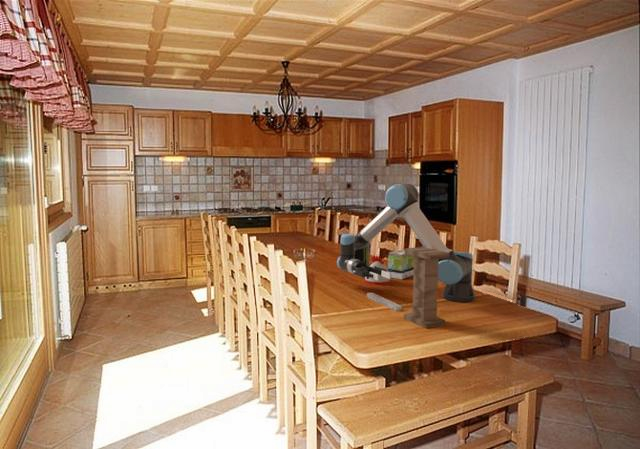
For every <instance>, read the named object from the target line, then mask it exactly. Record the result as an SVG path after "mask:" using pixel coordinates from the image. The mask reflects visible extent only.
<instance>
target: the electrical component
mask: <svg viewBox="0 0 640 449" xmlns="http://www.w3.org/2000/svg"><path fill="white" fill-rule="evenodd" d="M355 259H357V260H360V261H363V262H365V263H366V264H367V266H369V267H370V265H371V264H370V242H369V244H368V245H367V246H366V247H365V248H362V249H358V250H355Z"/></svg>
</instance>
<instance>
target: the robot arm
mask: <svg viewBox="0 0 640 449" xmlns="http://www.w3.org/2000/svg"><path fill="white" fill-rule="evenodd" d="M419 198H420V197H419V190H418V189H417V187H415V185H413V184H411V183H403V184H399V183H398V184H394V185H391V186H390V187H388V189H387V191H386V192H385V196H384V200H385V203H386V207H385V208H383V210H382V211H380V212H379V213H378V214H377V215H376V216H375V217H374V218H373V219H372V220H371V221H370V222H369V223H367V225H366V226H364V227H363V228H362V229H361V230H360V231H359V232H358V233H357V234H356V235H355V234H353V233H343V234H341V235H340V241H339V242H340V256H338V257H337V261H336V266H337V267H338V268H339V269H340V270H341V271H345V272H348V273H350V274H353V275H356V276H359V277H362V278H365V277H366V279H369V278H372V279H375V280H379V275H381V276H383V277H385V278H388V279H390V280H391V279H392V278H391V273H389V272H386V269H382V268H378V267H376V266H374V267H369V266H367V264H366V263H365V262H363V261H360V260H357V259H355V250H358V249H362V248H365V247H366V246H367V245H368V244H369V243H370V242H371V241H372V240H373V239H374V238H376V237H377V235H379V234H380V233H381V232H382V231H383V230H384V229H386V228H387V227H388V226H390V224H391V223H392V222H393V221H394V220H395V219H396V218H398V217H401V218H403V219H404V220H405V221H406V223H407V224H408V226H409V227H410V228H411V231H412V232H413V233H414V234H415V236H416V238H417V239H418V241H419V242H420V243H421V245H422V247H426V248H431V249H435V250H439V251H444V252H448V253H450V256H449V258H443V259H439V265H438V282H441V283H442V284H444V285H445V286H444V289H443V292H442V298H443V299H444V300H447V301H451V302H455V303H469V302H473V301H475V300H476V299H475V297H476V295H475V291H474V288H473V284H472V283H473V282H472V281H473V280H472V279H473V265H474V264H473V261H474V257H473V254H472V253H471V252H465V251H454V250H453V249H450V248H448V247H447V246H446V244H445V243H444V241H443V240H442V239H441V237H440V236H439V235H438V233H437V232H436V230H435V229H434V227H433V226H432V224H431V223H430V222H429V220H428V218H427V217H426V215H425V214H424V212H422V210H421V208H420V207H419V205H420V202H419ZM369 245H370V244H369Z"/></svg>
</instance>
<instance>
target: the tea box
mask: <svg viewBox="0 0 640 449" xmlns="http://www.w3.org/2000/svg"><path fill="white" fill-rule="evenodd" d="M387 269H388V272H389V273H391V279H397V280H398V279H399V280H403V279H405V278H410V277H412V276H413V277H414V256H413V255H409V254H405V249H398V250H397V249H396V250H394V251H389V252H388V258H387Z"/></svg>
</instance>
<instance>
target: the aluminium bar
mask: <svg viewBox="0 0 640 449" xmlns="http://www.w3.org/2000/svg"><path fill="white" fill-rule="evenodd" d="M367 297H368V298H367ZM366 298H367V299H369V298H370V299H369V300H371V299H372V301H373V302H376V303H378V304H380V305H382V306H384V307H387V308H388V309H391V310H393V311H394V312H400V311H402V310H403V308H402V307H403V306H402V305H400V304H398V303H396V302H394V301H392V300H390V299H387V298H385V297H383V296H381V295H379V294H376V293H374V292H367V293H366Z"/></svg>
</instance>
